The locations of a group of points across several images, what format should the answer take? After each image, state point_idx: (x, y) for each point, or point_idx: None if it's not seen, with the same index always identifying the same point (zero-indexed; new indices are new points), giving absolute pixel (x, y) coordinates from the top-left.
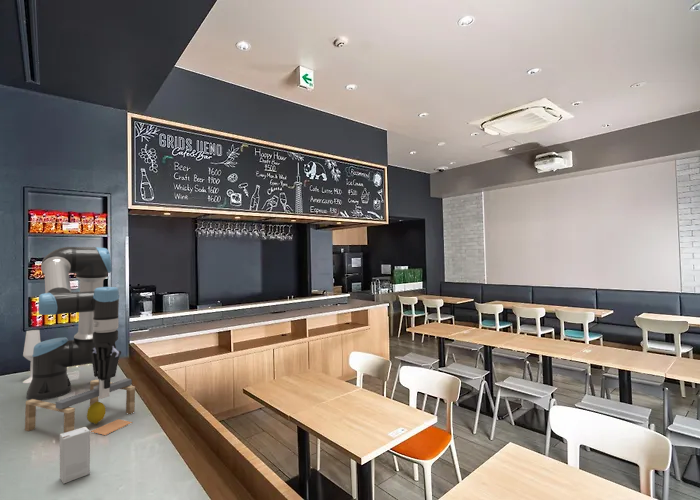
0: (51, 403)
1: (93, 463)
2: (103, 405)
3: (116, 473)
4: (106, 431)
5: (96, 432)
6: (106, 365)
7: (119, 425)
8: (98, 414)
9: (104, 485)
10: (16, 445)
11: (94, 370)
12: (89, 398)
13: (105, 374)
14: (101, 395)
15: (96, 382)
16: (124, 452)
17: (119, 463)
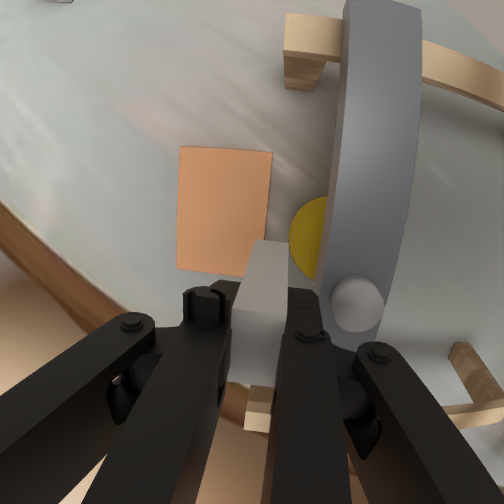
0: (501, 101)
1: (72, 24)
2: (302, 267)
3: (7, 39)
4: (200, 169)
5: (234, 149)
6: (110, 464)
7: (198, 229)
8: (293, 219)
9: (6, 10)
10: (440, 21)
11: (413, 398)
12: (329, 198)
13: (167, 352)
14: (260, 248)
15: (483, 409)
16: (41, 98)
17: (21, 62)
